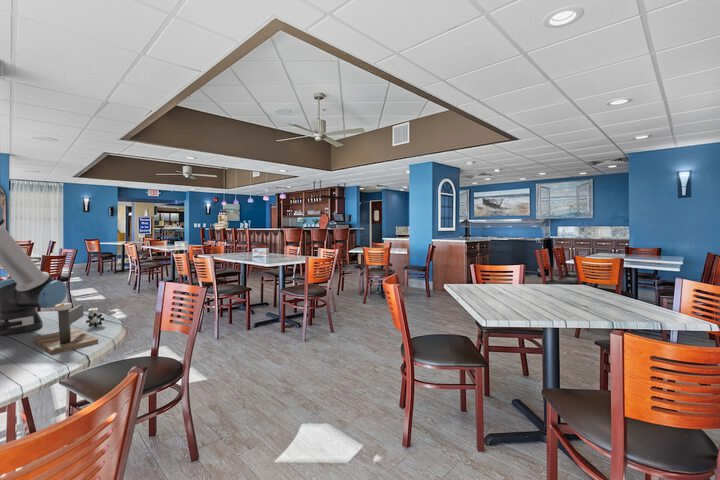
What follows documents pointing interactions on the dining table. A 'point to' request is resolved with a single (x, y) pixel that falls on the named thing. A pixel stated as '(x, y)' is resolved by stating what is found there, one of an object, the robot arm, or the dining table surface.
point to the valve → (94, 317)
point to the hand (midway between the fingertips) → (32, 319)
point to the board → (54, 346)
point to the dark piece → (67, 319)
